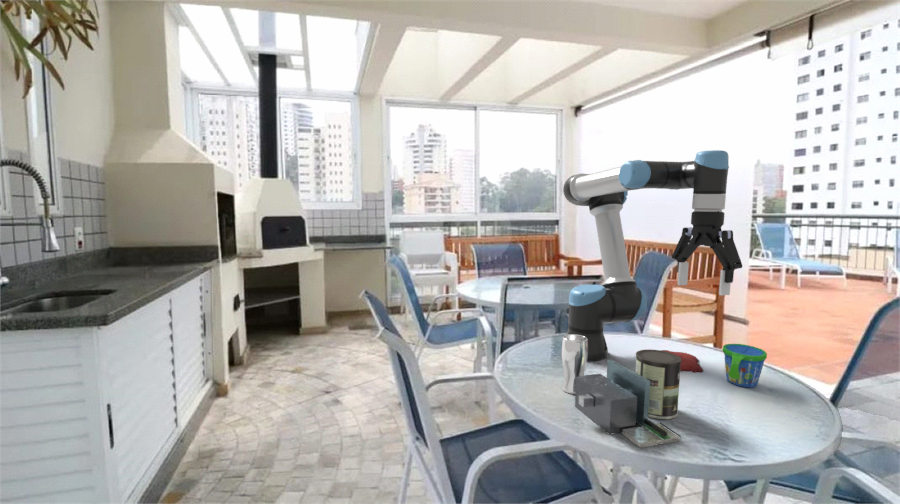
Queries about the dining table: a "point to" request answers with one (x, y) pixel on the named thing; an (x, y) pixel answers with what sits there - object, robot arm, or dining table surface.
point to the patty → (687, 362)
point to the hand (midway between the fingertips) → (702, 289)
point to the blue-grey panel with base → (633, 385)
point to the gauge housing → (617, 411)
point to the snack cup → (743, 364)
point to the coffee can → (660, 381)
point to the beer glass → (573, 360)
